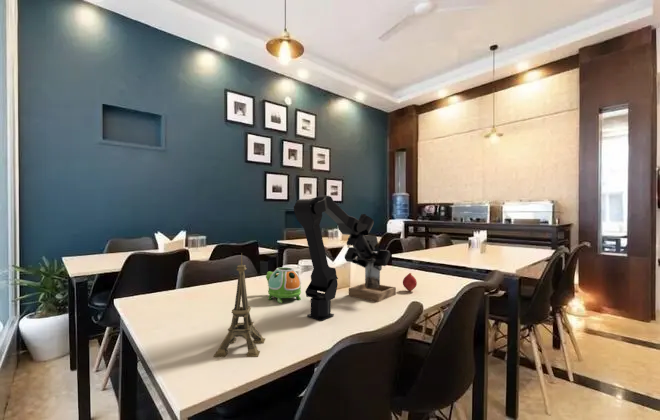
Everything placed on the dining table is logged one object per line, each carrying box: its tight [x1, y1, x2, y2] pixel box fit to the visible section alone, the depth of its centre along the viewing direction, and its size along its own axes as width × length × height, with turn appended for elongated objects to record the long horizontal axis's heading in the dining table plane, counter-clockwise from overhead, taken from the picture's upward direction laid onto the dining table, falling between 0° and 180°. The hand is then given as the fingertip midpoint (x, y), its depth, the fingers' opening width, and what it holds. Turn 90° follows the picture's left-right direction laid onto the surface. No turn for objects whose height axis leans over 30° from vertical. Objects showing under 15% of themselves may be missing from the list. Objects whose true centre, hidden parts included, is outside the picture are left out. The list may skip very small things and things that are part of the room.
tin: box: [364, 250, 381, 288], centre depth 133 cm, size 6×6×14 cm
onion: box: [402, 272, 418, 292], centre depth 140 cm, size 6×6×8 cm
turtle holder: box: [265, 266, 302, 304], centre depth 129 cm, size 12×18×12 cm
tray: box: [348, 282, 397, 303], centre depth 133 cm, size 14×14×3 cm
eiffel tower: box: [212, 254, 266, 358], centre depth 82 cm, size 11×11×25 cm
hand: (374, 268), depth 134 cm, fingers closed on tin, 6 cm apart
